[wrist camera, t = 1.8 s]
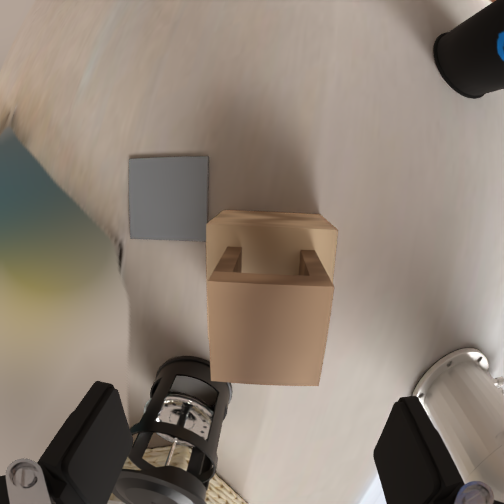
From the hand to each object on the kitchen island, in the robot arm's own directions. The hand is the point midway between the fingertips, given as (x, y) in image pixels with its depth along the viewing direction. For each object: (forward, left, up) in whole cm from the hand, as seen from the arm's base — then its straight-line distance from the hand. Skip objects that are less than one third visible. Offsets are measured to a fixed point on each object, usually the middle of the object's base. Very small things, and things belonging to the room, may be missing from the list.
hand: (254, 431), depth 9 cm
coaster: (+10, -5, -22) cm, 24 cm away
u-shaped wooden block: (0, 0, -14) cm, 14 cm away
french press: (+8, +17, -22) cm, 29 cm away
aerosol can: (-21, -23, -22) cm, 38 cm away
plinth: (0, 0, -22) cm, 22 cm away
